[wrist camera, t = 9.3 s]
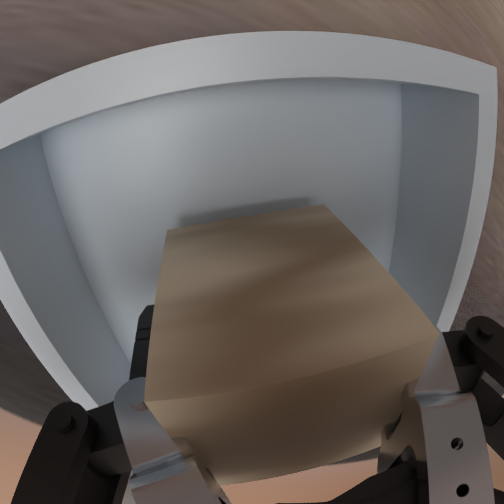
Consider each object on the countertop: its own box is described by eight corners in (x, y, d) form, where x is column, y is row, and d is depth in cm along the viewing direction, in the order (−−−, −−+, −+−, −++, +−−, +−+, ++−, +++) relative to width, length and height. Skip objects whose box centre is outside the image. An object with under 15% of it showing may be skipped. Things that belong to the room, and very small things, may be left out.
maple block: (323, 204, 10) (440, 332, 4) (321, 319, 12) (381, 445, 7) (167, 230, 9) (144, 401, 4) (199, 342, 12) (211, 486, 7)
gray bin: (404, 62, 9) (496, 67, 5) (379, 333, 17) (417, 395, 13) (27, 114, 8) (-58, 141, 4) (134, 381, 16) (128, 456, 12)
